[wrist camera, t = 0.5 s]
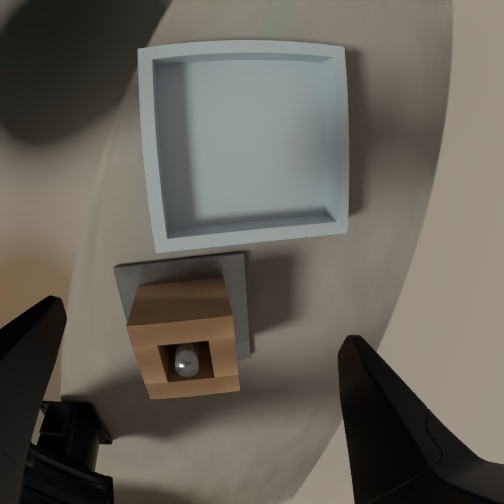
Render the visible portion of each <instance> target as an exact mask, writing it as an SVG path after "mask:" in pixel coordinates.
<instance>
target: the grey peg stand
mask: <svg viewBox="0 0 504 504" xmlns="http://www.w3.org/2000/svg"><path fill="white" fill-rule="evenodd" d="M114 273H115V277H116V281H117V285H118V290H119V294H120V298H121V301H122V305H123V309H124V313H125V316H126V320H127V322H128V318H129V315H130V311H131V308H132V305H133V301H134V298H135V295H136V292H137V288H138V286H144V285H154V284H163V283H173V282H182V281H191V280H200V279H209V278H218V277H224V281H225V285H226V289H227V294H228V298H229V302H230V306H231V311H232V315H233V325H234V335H235V345H236V355H237V359H244V358H251V354H250V339H249V324H248V309H247V294H246V278H245V262H244V253H243V252H238V253H229V254H220V255H211V256H202V257H193V258H184V259H175V260H166V261H157V262H148V263H139V264H130V265H121V266H115V267H114ZM175 370H176V372H177V373H178V374H180V375H181V376H185V377H190V376H193V375H195V374H196V373H197V372H198V371H199V361H198V345H197V342H190V343H180V344H176V354H175Z"/></svg>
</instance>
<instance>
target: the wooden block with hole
mask: <svg viewBox="0 0 504 504" xmlns="http://www.w3.org/2000/svg"><path fill="white" fill-rule="evenodd" d="M126 327H127V331H128V334H129V337H130V341H131V344H132V347H133V350H134V353H135V356H136V360H137V363H138V366H139V369H140V371H141V374H142V377H143V380H144V383H145V386H146V388H147V391H148V394H149V397H150V399H165V398H179V397H190V396H200V395H209V394H218V393H226V392H233V391H240V384H239V374H238V365H237V355H236V345H235V335H234V325H233V315H232V311H231V306H230V302H229V298H228V294H227V289H226V285H225V281H224V277H218V278H209V279H200V280H191V281H182V282H173V283H163V284H154V285H144V286H138V288H137V292H136V295H135V298H134V301H133V305H132V308H131V311H130V315H129V318H128V322H127V325H126ZM190 342H197V345H198V361H199V371H198V372H197V373H196V374H195V375H193V376H190V377H185V376H181V375H180V374H178V373H177V372H176V370H175V354H176V344H180V343H190Z"/></svg>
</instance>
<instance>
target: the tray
mask: <svg viewBox="0 0 504 504" xmlns="http://www.w3.org/2000/svg"><path fill="white" fill-rule="evenodd" d="M138 81H139V104H140V121H141V135H142V147H143V158H144V168H145V178H146V187H147V195H148V203H149V211H150V218H151V225H152V232H153V239H154V245H155V251H156V253H164V252H172V251H181V250H190V249H199V248H209V247H218V246H227V245H236V244H246V243H255V242H264V241H274V240H284V239H293V238H303V237H313V236H322V235H332V234H342V233H347V231H348V206H349V116H348V92H347V75H346V61H345V49H344V47H341V46H334V45H326V44H316V43H305V42H292V41H272V40H223V41H203V42H190V43H179V44H169V45H161V46H154V47H147V48H141V49H138Z"/></svg>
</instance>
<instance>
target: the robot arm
mask: <svg viewBox="0 0 504 504" xmlns="http://www.w3.org/2000/svg"><path fill="white" fill-rule="evenodd" d="M66 321H67V316H66V312H65V309H64V305H63V302H62V299H61V298H60V297H56V296H51V295H50V296H48V297H46V298H44V299H43V300H41V301H40V302H38V303H37V304H35V305H34V306H33V307H31V308H30V309H28V310H27V311H25V312H24V313H22V314H21V315H19V316H18V317H17V318H15V319H14V320H12V321H11V322H9V323H8V324H7V325H5V326H4V327H2V328H1V329H0V504H114V494H113V478H112V477H110V476H105V475H102V474H99V473H97V472H95V467H96V460H97V454H98V448H99V444H112V442H113V440H112V438H111V436H110V434H109V433H108V431H107V429H106V428H105V426H104V424H103V422H102V421H101V419H100V417H99V415H98V413H97V412H96V410H95V408H94V406H93V405H92V404H90V403H77V402H54V401H43V398H44V394H45V391H46V388H47V385H48V383H49V380H50V377H51V374H52V371H53V368H54V365H55V362H56V359H57V355H58V351H59V347H60V344H61V340H62V336H63V333H64V329H65V326H66ZM338 371H339V389H340V401H341V408H342V414H343V420H344V426H345V433H346V440H347V447H348V454H349V461H350V469H351V476H352V484H353V493H354V502H355V504H504V464H498V463H493V462H488V461H486V460H484V459H482V458H480V457H478V456H477V455H476V454H474V452H472V451H471V450H470V449H469V448H468V447H467V446H466V445H465V444H463V443H462V441H460V440H459V439H458V438H457V437H456V436H455V435H454V434H453V433H452V432H451V431H450V430H449V429H448V428H447V427H445V426H444V425H443V423H442V422H441V421H440V420H439V419H438V418H437V417H436V416H435V415H434V414H433V413H432V412H431V411H430V410H429V409H427V406H426V405H425V404H424V403H423V402H422V401H421V400H420V399H419V398H418V397H417V395H416V394H415V393H414V392H413V391H412V390H411V389H410V388H409V387H408V386H407V385H406V384H405V383H404V381H403V380H402V379H401V378H400V377H399V376H398V375H397V374H396V373H395V372H394V371H393V370H392V369H391V367H390V366H389V365H388V364H387V363H386V362H385V361H384V360H383V359H382V358H381V357H380V356H379V355H378V353H377V352H376V351H375V350H374V349H373V348H372V347H371V346H370V345H369V344H368V343H367V342H366V341H365V340H364V339H363V338H362V337H361V336H360V335H348V336H347V337H346V339H345V341H344V342H343V344H342V346H341V348H340V350H339V352H338ZM40 409H41V411H42V412H43V414H44V415H45V417H44V419H43V422H42V425H41V428H40V431H39V432H40V436H39V439H38V442H37V446H36V445H34V444H32V442H31V438H32V435H33V431H34V427H35V424H36V420H37V417H38V414H39V410H40Z"/></svg>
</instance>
